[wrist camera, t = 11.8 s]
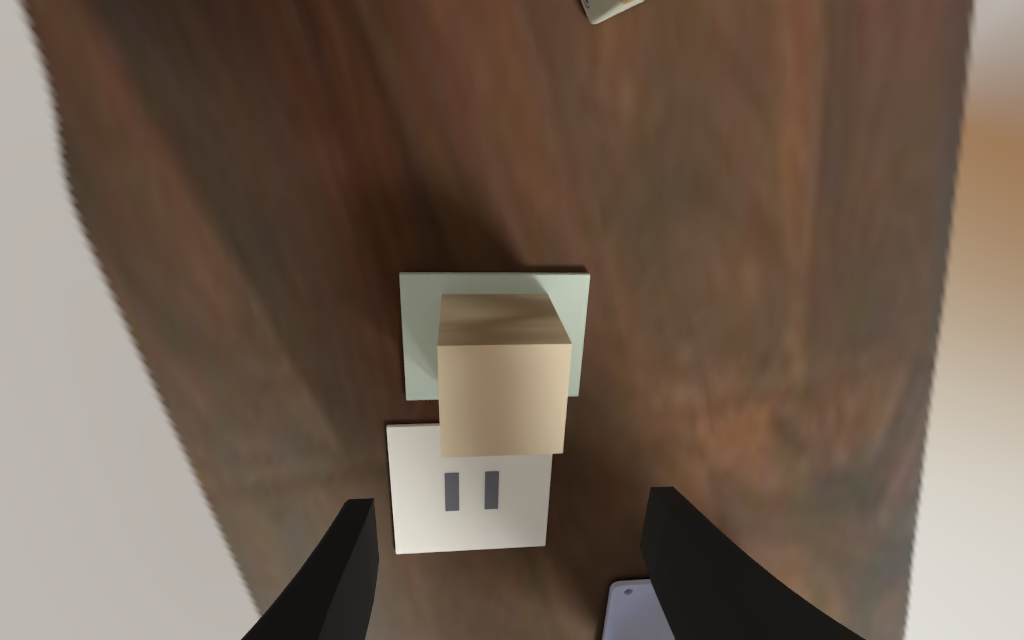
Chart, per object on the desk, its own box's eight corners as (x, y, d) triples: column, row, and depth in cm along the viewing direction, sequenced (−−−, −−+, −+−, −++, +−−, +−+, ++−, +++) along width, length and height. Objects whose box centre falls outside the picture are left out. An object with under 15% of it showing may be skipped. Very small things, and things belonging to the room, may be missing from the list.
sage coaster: (588, 272, 21) (590, 274, 21) (576, 392, 24) (578, 396, 23) (400, 272, 21) (399, 274, 20) (407, 396, 23) (406, 400, 23)
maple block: (547, 293, 21) (572, 344, 17) (542, 385, 23) (562, 453, 18) (442, 294, 21) (437, 345, 16) (444, 387, 23) (440, 457, 18)
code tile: (554, 420, 24) (555, 422, 24) (544, 543, 27) (545, 546, 27) (386, 424, 23) (386, 427, 23) (396, 550, 26) (395, 554, 26)
